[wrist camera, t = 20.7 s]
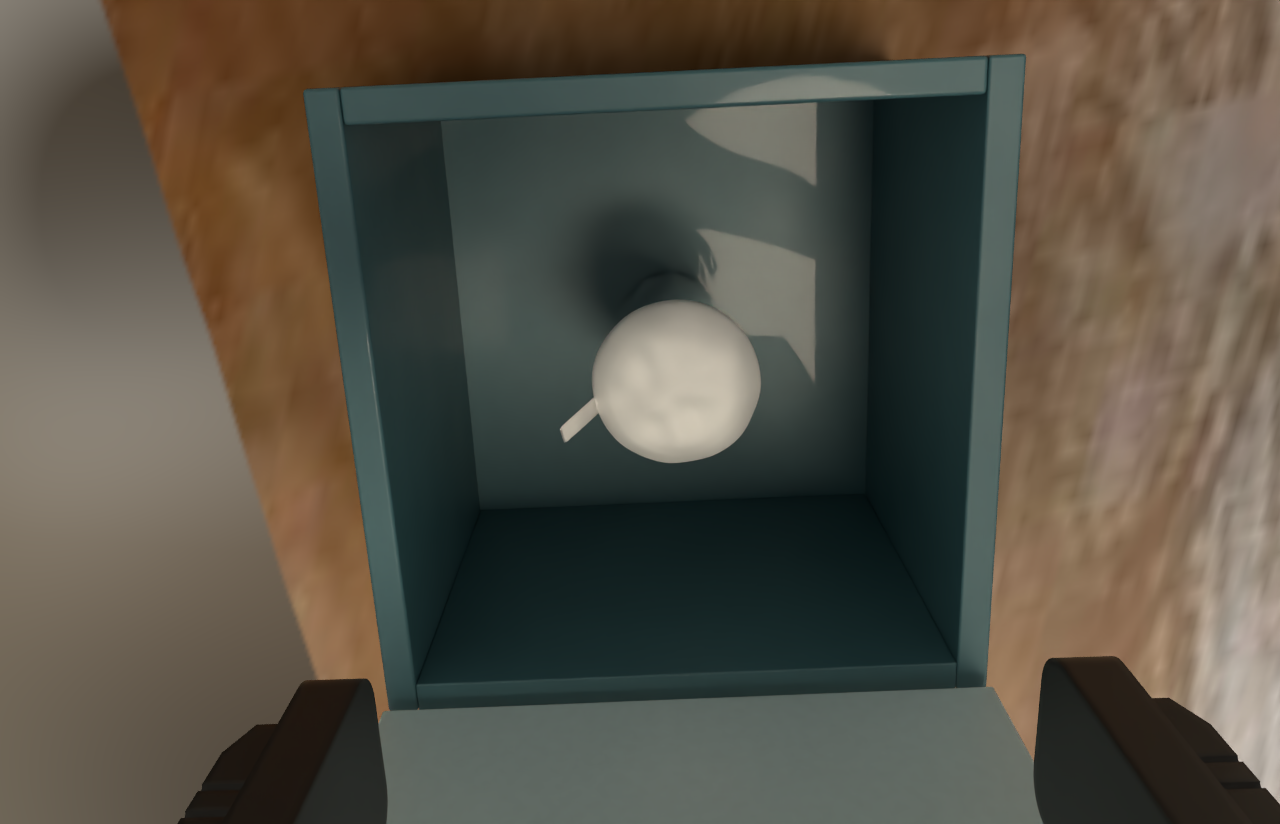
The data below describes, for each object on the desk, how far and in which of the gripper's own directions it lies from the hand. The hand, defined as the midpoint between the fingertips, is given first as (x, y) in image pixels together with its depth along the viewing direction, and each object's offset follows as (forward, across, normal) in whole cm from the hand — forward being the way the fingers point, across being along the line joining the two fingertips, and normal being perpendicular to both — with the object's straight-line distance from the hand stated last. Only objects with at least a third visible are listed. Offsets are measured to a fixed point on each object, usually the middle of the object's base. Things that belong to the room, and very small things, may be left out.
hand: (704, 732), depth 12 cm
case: (+25, 0, 0) cm, 25 cm away
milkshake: (+24, 0, +1) cm, 25 cm away
